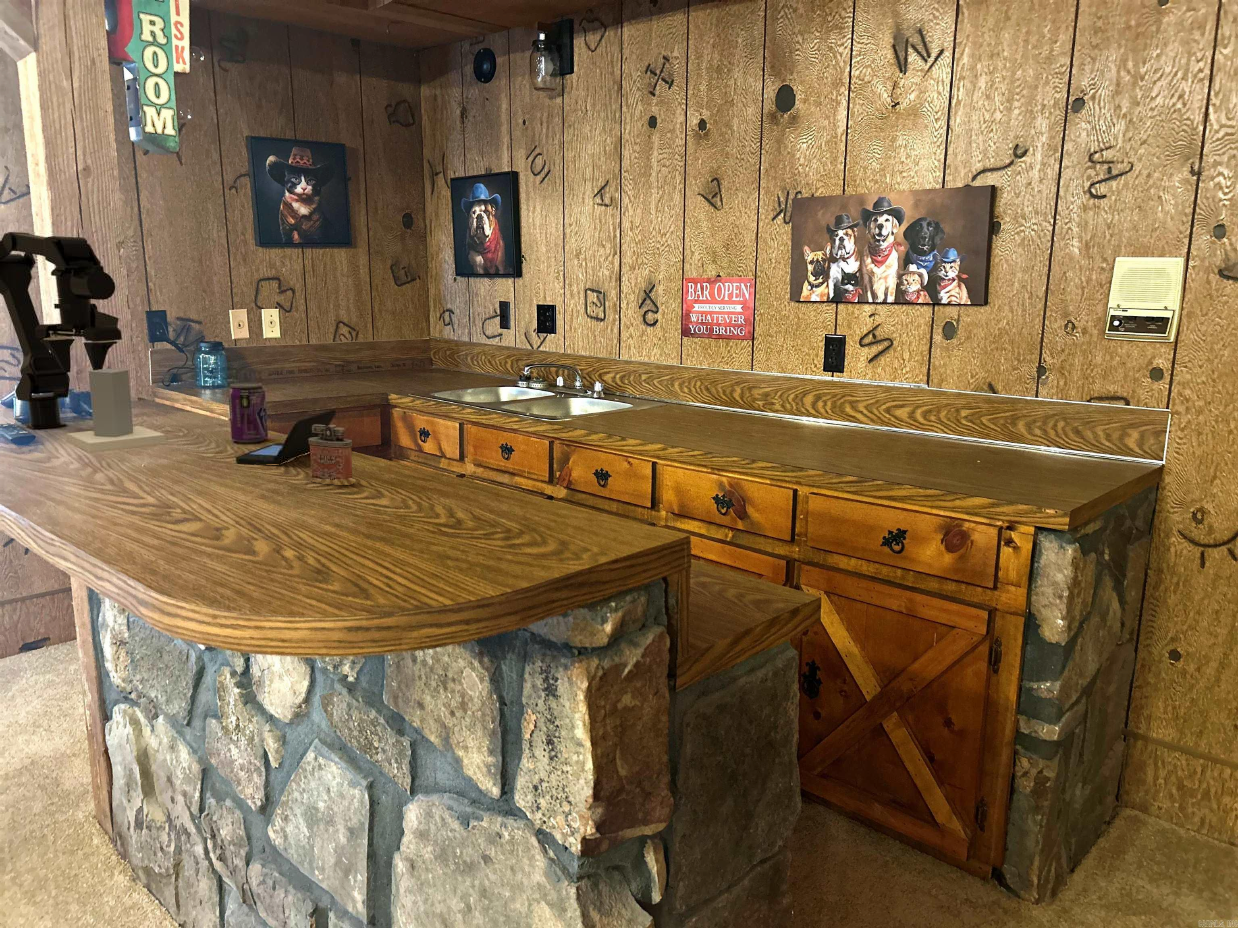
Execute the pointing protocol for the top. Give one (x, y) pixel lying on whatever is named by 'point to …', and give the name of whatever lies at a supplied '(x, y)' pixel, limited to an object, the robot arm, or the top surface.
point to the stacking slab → (116, 440)
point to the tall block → (111, 402)
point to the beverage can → (248, 412)
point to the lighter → (330, 453)
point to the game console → (289, 442)
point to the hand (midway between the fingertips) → (82, 373)
